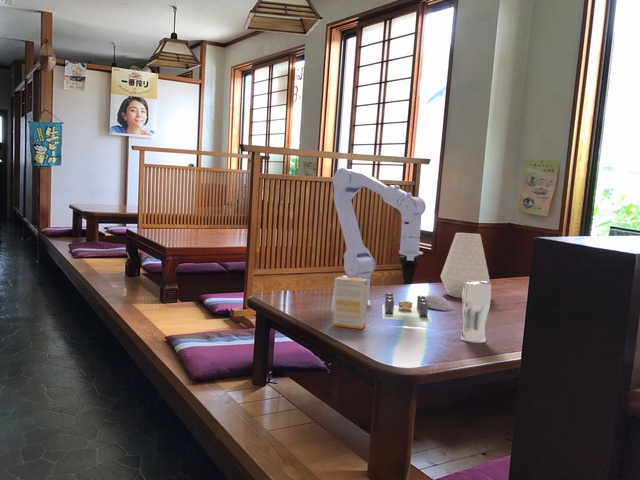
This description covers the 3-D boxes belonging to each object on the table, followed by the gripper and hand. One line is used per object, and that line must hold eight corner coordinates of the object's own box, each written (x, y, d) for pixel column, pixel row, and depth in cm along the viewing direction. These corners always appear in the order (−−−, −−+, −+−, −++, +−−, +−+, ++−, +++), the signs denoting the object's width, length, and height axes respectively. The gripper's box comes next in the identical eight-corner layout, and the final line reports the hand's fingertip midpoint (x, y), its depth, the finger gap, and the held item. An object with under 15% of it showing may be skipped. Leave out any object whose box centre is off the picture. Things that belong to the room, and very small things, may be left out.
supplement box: (366, 326, 150) (369, 278, 149) (361, 329, 146) (364, 280, 144) (337, 322, 153) (339, 275, 152) (331, 325, 148) (334, 277, 147)
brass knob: (398, 311, 168) (399, 302, 168) (398, 308, 172) (398, 300, 172) (412, 312, 168) (412, 303, 168) (411, 309, 172) (411, 301, 172)
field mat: (382, 320, 157) (382, 318, 157) (382, 306, 177) (382, 304, 177) (432, 324, 156) (432, 322, 156) (426, 309, 175) (426, 307, 175)
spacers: (385, 314, 162) (386, 301, 162) (384, 305, 176) (385, 292, 176) (427, 317, 161) (428, 304, 161) (423, 307, 175) (424, 295, 175)
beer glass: (455, 336, 144) (459, 279, 143) (481, 336, 145) (485, 280, 143) (464, 343, 137) (469, 284, 136) (491, 344, 138) (496, 285, 136)
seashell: (421, 294, 183) (452, 291, 181) (422, 310, 183) (453, 308, 181) (420, 297, 173) (453, 295, 171) (422, 314, 173) (454, 312, 171)
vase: (493, 296, 206) (498, 235, 204) (480, 302, 192) (485, 237, 190) (448, 289, 216) (452, 231, 214) (432, 295, 201) (436, 232, 199)
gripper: (425, 239, 159) (422, 286, 160) (421, 235, 173) (419, 278, 174) (401, 238, 159) (398, 284, 160) (399, 234, 174) (396, 277, 175)
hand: (407, 281), depth 167 cm, fingers open, 6 cm apart
